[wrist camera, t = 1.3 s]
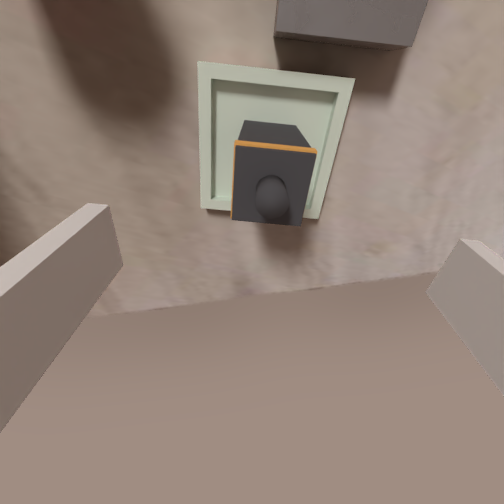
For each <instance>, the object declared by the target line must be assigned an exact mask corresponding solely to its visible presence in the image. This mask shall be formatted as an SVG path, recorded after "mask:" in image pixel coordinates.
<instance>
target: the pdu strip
mask: <svg viewBox="0 0 504 504" xmlns="http://www.w3.org/2000/svg"><path fill="white" fill-rule="evenodd" d="M427 2H428V0H277V8H276V17H275V27H274V36H273V37H276V38H285V39H294V40H302V41H311V42H320V43H328V44H337V45H346V46H354V47H363V48H372V49H380V50H389V51H390V50H396V49H401V48H407V47H412V45H413V42H414V39H415V36H416V33H417V30H418V28H419V25H420V22H421V19H422V16H423V13H424V10H425V7H426V5H427Z"/></svg>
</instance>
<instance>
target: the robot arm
mask: <svg viewBox="0 0 504 504" xmlns="http://www.w3.org/2000/svg"><path fill="white" fill-rule="evenodd" d="M122 266H123V261H122V257H121V253H120V249H119V245H118V240H117V236H116V232H115V228H114V224H113V220H112V216H111V211H110V207H109V205H103V204H93V203H87V204H86V205H84V206H83V207H82V208H80V209H79V210H77V211H76V212H75V213H73V214H72V215H71V216H69V217H68V218H67V219H65V220H64V221H62V222H61V223H60V224H58V225H57V226H56V227H54V228H53V229H52V230H50V231H49V232H47V233H46V234H45V235H43V236H42V237H41V238H39V239H38V240H36V241H35V242H34V243H32V244H31V245H30V246H28V247H27V248H26V249H24V250H23V251H21V252H20V253H19V254H17V255H16V256H15V257H13V258H12V259H11V260H9V261H8V262H6V263H5V264H4V265H2V266H1V267H0V432H1V431H2V430H3V428H4V427H5V426H6V424H7V423H8V422H9V420H10V419H11V417H12V416H13V415H14V413H15V412H16V410H17V409H18V408H19V407H20V405H21V404H22V402H23V401H24V400H25V398H26V397H27V396H28V394H29V393H30V392H31V390H32V389H33V387H34V386H35V385H36V383H37V382H38V381H39V379H40V378H41V377H42V375H43V374H44V372H45V371H46V369H47V368H48V367H49V365H50V364H51V363H52V362H53V360H54V359H55V357H56V356H57V355H58V353H59V352H60V351H61V349H62V348H63V347H64V345H65V343H66V342H67V341H68V340H69V338H70V337H71V335H72V334H73V333H74V331H75V330H76V329H77V327H78V326H79V325H80V323H81V322H82V321H83V319H84V318H85V317H86V315H87V314H88V312H89V311H90V310H91V308H92V307H93V306H94V304H95V303H96V302H97V300H98V299H99V297H100V296H101V295H102V293H103V292H104V291H105V289H106V288H107V287H108V285H109V284H110V282H111V281H112V280H113V278H114V277H115V276H116V274H117V273H118V272H119V270H120V269H121V267H122ZM426 294H427V295H428V296H429V298H430V299H431V300H432V301H433V303H434V304H435V306H436V307H437V308H438V310H439V311H440V312H441V314H442V315H443V316H444V318H445V319H446V320H447V322H448V323H449V324H450V326H451V327H452V328H453V330H454V331H455V332H456V334H457V335H458V336H459V338H460V339H461V340H462V342H463V343H464V344H465V346H466V347H467V348H468V350H469V351H470V352H471V354H472V355H473V356H474V358H475V359H476V360H477V362H478V363H479V364H480V366H481V367H482V368H483V370H484V371H485V372H486V373H487V375H488V376H489V378H490V379H491V380H492V381H493V383H494V384H495V386H496V387H497V388H498V390H499V391H500V392H501V393H502V395H503V396H504V259H503V258H501V257H500V256H499V255H498V254H496V253H495V252H494V251H492V250H491V249H490V248H488V247H487V246H486V245H484V244H483V243H482V242H480V241H476V240H466V239H459V241H458V242H457V244H456V246H455V247H454V249H453V250H452V252H451V253H450V255H449V256H448V258H447V260H446V261H445V263H444V264H443V266H442V267H441V269H440V270H439V272H438V274H437V275H436V277H435V278H434V280H433V281H432V283H431V285H430V286H429V288H428V289H427V291H426Z"/></svg>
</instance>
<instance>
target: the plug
mask: <svg viewBox="0 0 504 504" xmlns="http://www.w3.org/2000/svg"><path fill="white" fill-rule="evenodd" d="M317 152H318V151H317V150H316V149H315V148H311V146H310V145H309V143H308V142H307V140H306V139H305V138H304V136H303V135H302V133H301V132H300V130H299V129H298V128H297V126H296V125H288V124H279V123H269V122H259V121H250V120H244V123H243V126H242V129H241V131H240V134H239V137H238V140H235V142H234V158H233V178H232V199H231V218H232V220H238V221H249V222H259V223H270V224H281V225H292V226H301V223H302V218H303V214H304V209H305V205H306V201H307V196H308V192H309V187H310V183H311V178H312V174H313V170H314V165H315V161H316V156H317Z"/></svg>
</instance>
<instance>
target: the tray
mask: <svg viewBox="0 0 504 504" xmlns="http://www.w3.org/2000/svg"><path fill="white" fill-rule="evenodd" d="M197 65H198V108H199V150H200V192H201V208H206V209H216V210H227V211H231V199H232V178H233V158H234V142H235V140H238V137H239V134H240V131H241V129H242V126H243V123H244V120H250V121H259V122H269V123H279V124H288V125H296V126H297V128H298V129H299V130H300V132H301V133H302V135H303V136H304V138H305V139H306V140H307V142H308V143H309V145H310V146H311V148H315V149H316V150H317V151H318V152H317V156H316V161H315V165H314V170H313V174H312V178H311V183H310V187H309V192H308V196H307V201H306V205H305V209H304V214H303V218H312V219H318V218H319V214H320V210H321V207H322V203H323V199H324V195H325V192H326V188H327V184H328V180H329V176H330V173H331V169H332V165H333V161H334V158H335V154H336V150H337V146H338V142H339V139H340V135H341V131H342V127H343V124H344V120H345V116H346V112H347V109H348V105H349V101H350V97H351V93H352V90H353V86H354V82H355V78H346V77H337V76H328V75H319V74H310V73H301V72H292V71H283V70H274V69H265V68H256V67H247V66H238V65H229V64H221V63H212V62H203V61H197Z"/></svg>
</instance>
